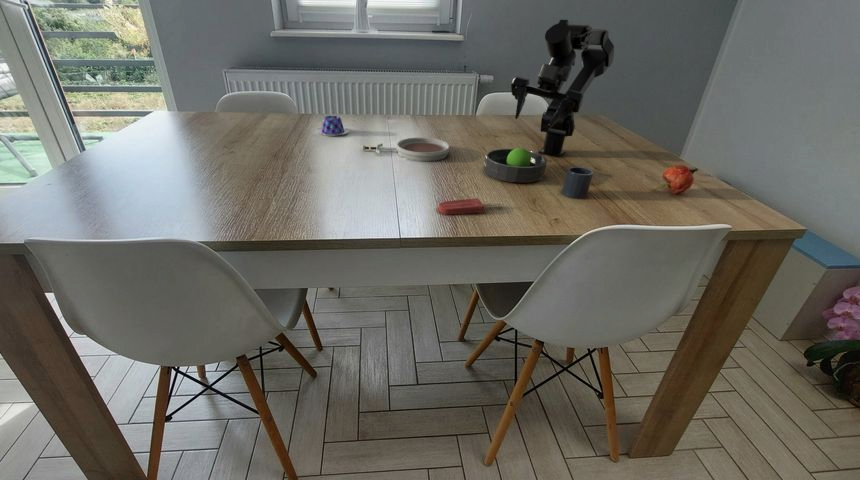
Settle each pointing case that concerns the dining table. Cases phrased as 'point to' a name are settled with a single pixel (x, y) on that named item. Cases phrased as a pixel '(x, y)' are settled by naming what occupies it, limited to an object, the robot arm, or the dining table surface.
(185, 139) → the dining table surface
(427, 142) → the frying pan
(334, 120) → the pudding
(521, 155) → the ball
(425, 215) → the dining table surface
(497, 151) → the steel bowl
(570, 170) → the stand cup
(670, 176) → the red rounded piece
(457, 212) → the popsicle
